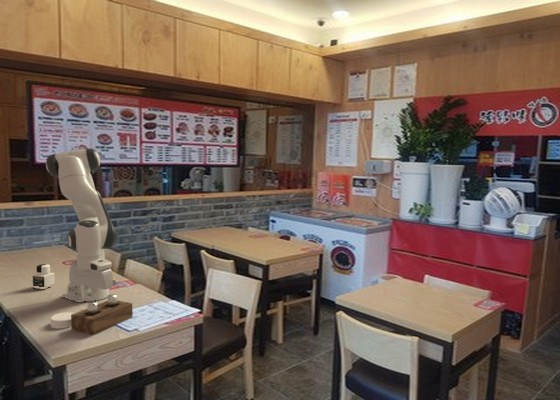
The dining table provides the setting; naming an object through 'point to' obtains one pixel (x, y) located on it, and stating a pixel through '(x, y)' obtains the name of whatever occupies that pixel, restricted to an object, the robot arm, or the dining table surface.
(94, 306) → the steel peg
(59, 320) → the coaster
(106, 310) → the walnut block
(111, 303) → the steel peg
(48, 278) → the medicine bottle
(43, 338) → the dining table surface
